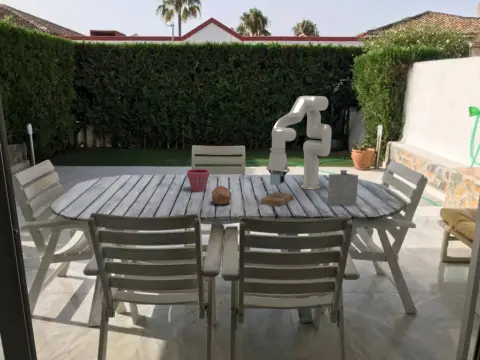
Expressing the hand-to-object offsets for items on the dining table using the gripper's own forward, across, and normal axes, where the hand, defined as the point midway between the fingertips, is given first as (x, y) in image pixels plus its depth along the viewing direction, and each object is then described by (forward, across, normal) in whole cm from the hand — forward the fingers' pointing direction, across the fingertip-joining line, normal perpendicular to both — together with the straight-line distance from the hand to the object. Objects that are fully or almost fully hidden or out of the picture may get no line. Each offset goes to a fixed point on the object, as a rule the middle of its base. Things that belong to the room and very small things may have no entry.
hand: (277, 181), depth 234 cm
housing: (+1, 0, 0) cm, 1 cm away
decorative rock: (+13, -26, -20) cm, 35 cm away
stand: (+12, 0, 0) cm, 12 cm away
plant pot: (+12, -56, -2) cm, 57 cm away
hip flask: (+12, +34, +14) cm, 39 cm away
